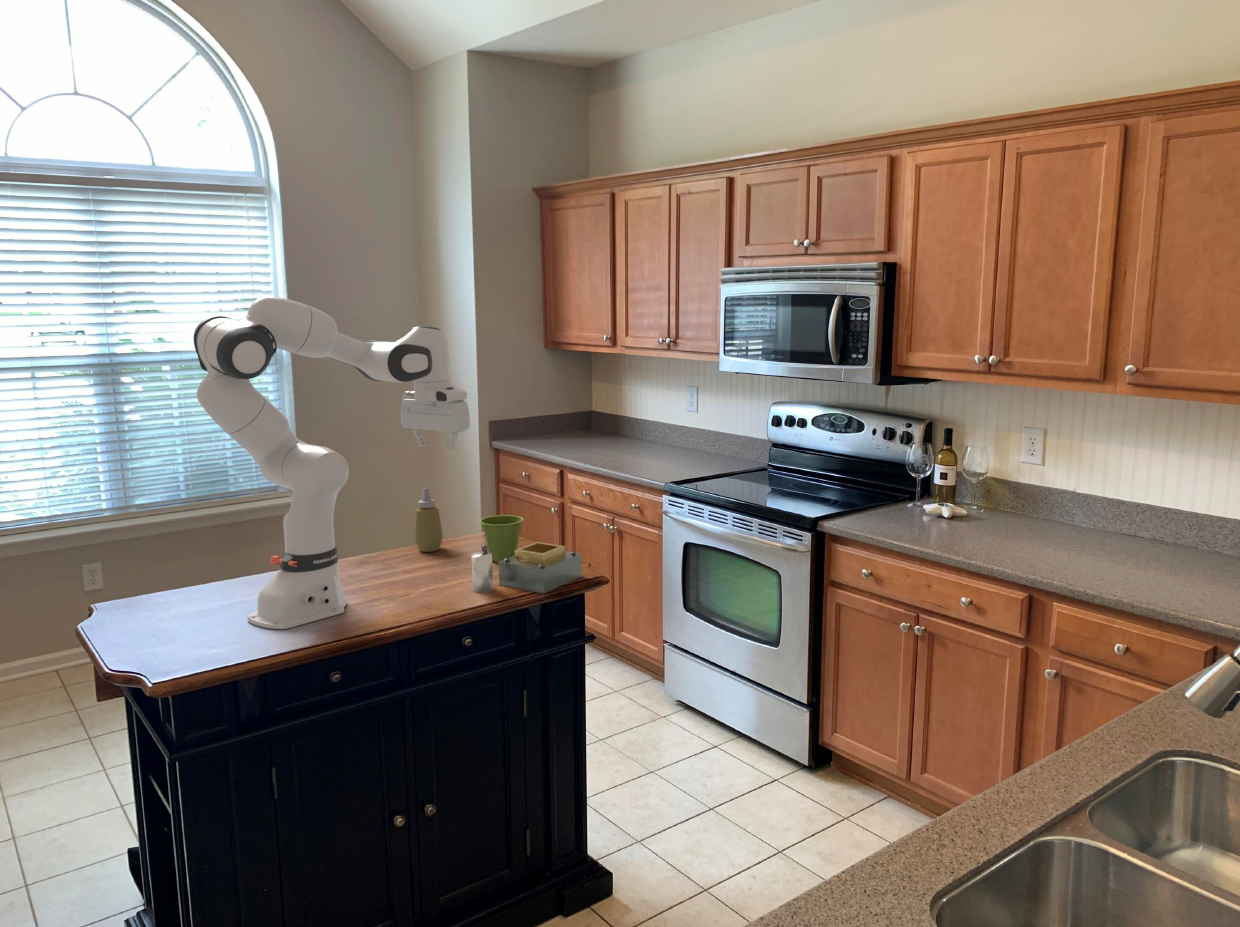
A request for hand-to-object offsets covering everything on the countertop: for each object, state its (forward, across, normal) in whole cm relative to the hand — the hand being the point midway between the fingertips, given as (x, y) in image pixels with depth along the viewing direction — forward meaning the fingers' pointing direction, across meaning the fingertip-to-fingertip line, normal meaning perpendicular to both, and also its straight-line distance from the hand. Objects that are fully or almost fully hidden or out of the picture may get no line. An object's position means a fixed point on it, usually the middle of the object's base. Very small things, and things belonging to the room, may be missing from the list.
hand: (436, 447), depth 237 cm
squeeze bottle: (+35, -24, +19) cm, 47 cm away
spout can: (+34, +14, -1) cm, 37 cm away
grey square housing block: (+35, +22, +12) cm, 43 cm away
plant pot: (+35, +1, +22) cm, 41 cm away
